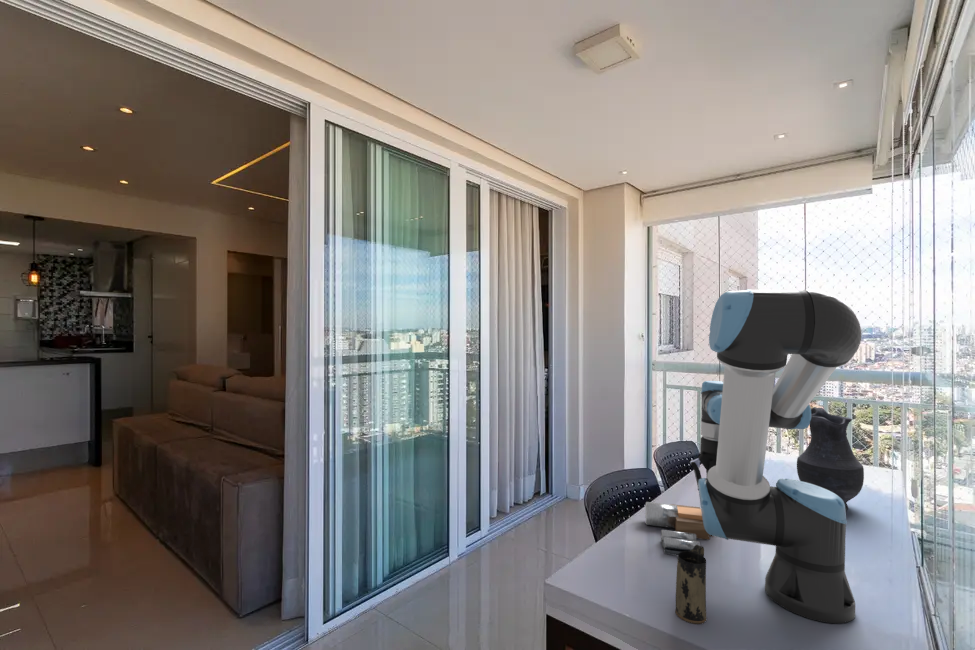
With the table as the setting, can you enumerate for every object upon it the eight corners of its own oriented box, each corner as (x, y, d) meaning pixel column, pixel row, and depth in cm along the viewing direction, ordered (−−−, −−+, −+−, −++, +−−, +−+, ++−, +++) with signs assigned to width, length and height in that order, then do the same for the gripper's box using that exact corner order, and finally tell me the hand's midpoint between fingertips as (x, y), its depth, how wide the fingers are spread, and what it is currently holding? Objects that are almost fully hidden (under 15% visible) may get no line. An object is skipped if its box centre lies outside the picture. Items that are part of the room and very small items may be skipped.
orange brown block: (713, 535, 123) (714, 517, 123) (677, 531, 125) (678, 513, 125) (709, 527, 128) (710, 509, 128) (675, 523, 130) (675, 506, 130)
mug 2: (700, 628, 84) (701, 563, 84) (670, 615, 88) (671, 552, 88) (714, 610, 90) (715, 548, 90) (685, 598, 94) (687, 539, 94)
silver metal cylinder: (674, 520, 131) (675, 501, 130) (677, 533, 125) (678, 512, 124) (645, 516, 133) (645, 497, 132) (646, 529, 127) (647, 509, 126)
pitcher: (809, 511, 141) (811, 414, 141) (783, 489, 161) (785, 403, 161) (875, 518, 137) (877, 418, 137) (840, 494, 157) (842, 406, 157)
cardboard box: (709, 539, 121) (709, 524, 121) (676, 535, 122) (677, 520, 123) (699, 521, 132) (699, 507, 132) (669, 517, 134) (670, 504, 134)
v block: (694, 545, 117) (694, 531, 117) (700, 558, 110) (700, 544, 110) (661, 540, 119) (661, 527, 119) (664, 553, 112) (665, 539, 112)
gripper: (737, 436, 128) (736, 521, 128) (687, 432, 131) (686, 515, 131) (746, 443, 121) (744, 532, 121) (692, 439, 124) (691, 526, 124)
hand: (713, 523), depth 126 cm, fingers closed
